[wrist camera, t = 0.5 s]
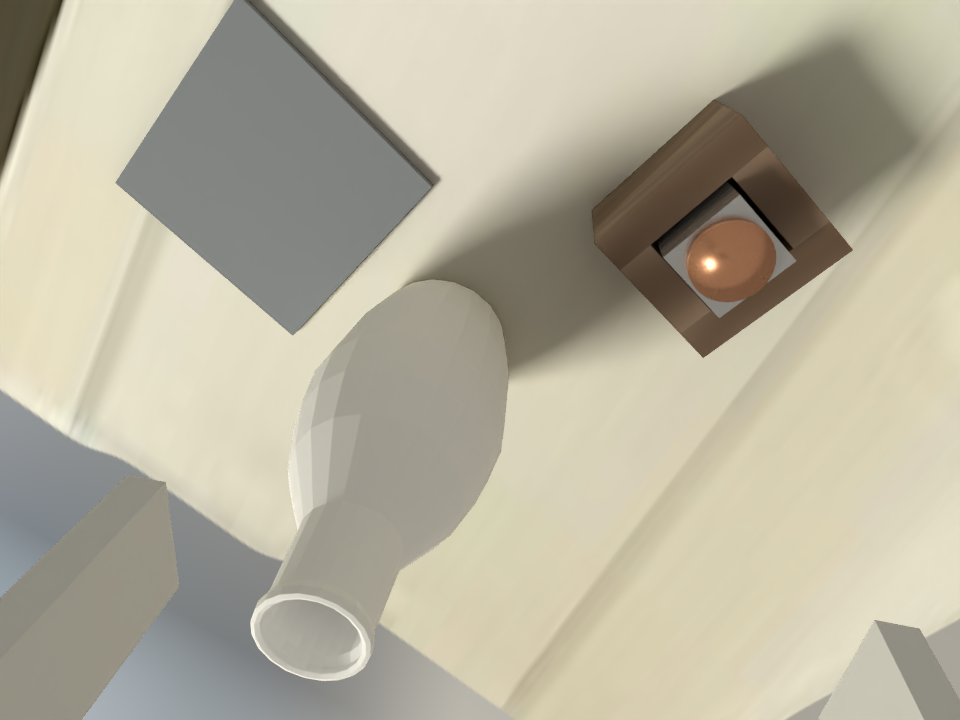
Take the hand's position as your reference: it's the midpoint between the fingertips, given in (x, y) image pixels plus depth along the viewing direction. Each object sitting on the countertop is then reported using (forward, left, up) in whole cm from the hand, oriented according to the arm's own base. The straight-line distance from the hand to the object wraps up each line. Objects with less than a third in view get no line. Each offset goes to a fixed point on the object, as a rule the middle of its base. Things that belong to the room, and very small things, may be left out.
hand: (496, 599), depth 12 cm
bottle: (+2, -12, -32) cm, 34 cm away
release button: (+7, +6, -28) cm, 29 cm away
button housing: (+7, +6, -32) cm, 33 cm away
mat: (-13, -12, -32) cm, 37 cm away
